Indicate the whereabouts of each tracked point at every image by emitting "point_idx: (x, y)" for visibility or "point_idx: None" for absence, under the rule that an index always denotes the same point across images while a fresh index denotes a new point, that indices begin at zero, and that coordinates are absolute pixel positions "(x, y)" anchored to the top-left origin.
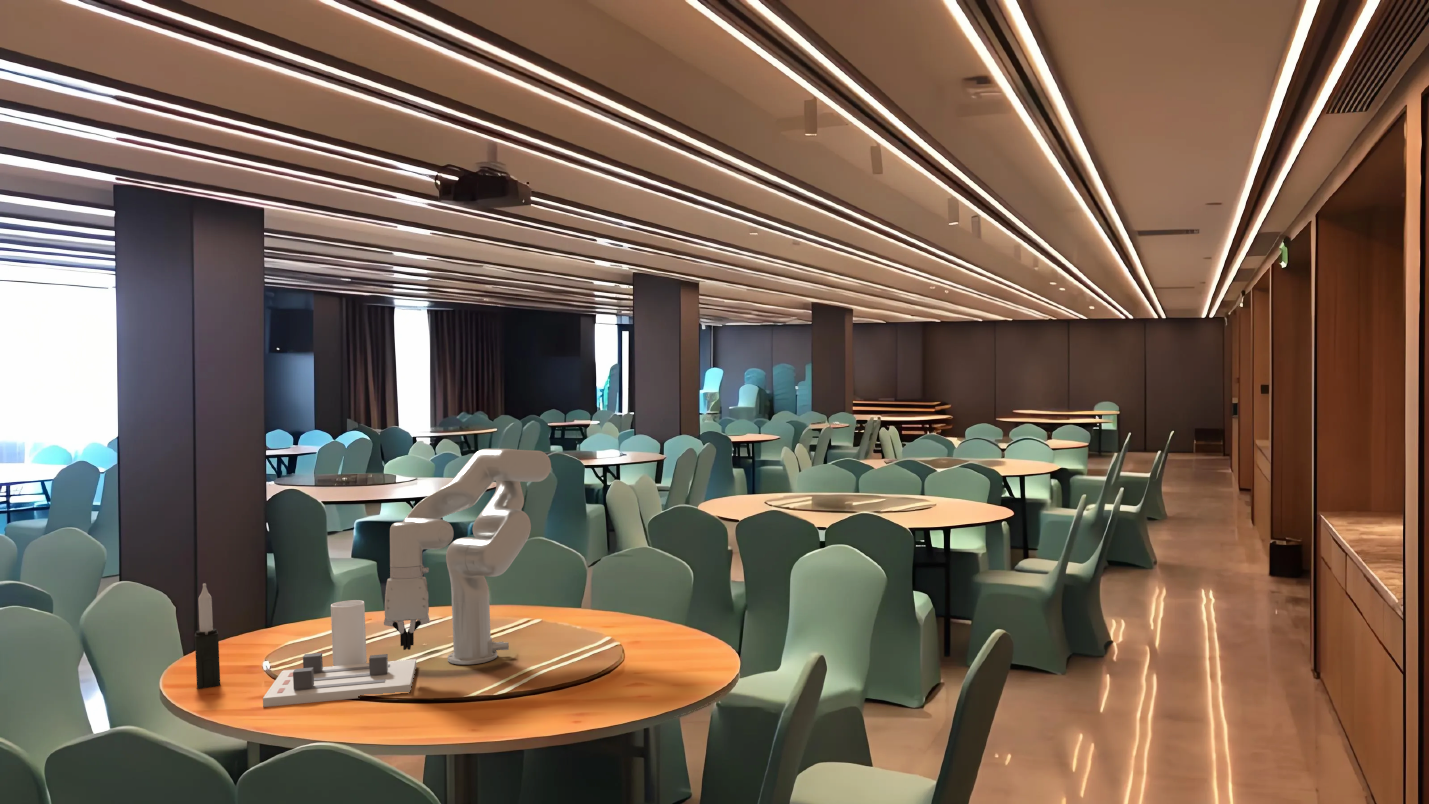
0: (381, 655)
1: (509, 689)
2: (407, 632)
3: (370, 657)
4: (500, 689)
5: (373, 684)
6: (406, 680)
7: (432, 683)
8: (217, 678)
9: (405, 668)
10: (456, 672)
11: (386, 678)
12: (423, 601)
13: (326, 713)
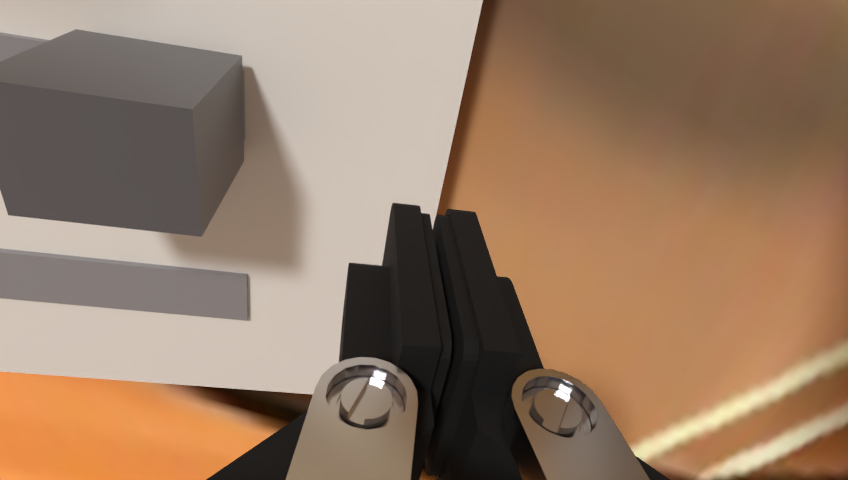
0: (128, 150)
1: (780, 451)
2: (449, 409)
3: (10, 182)
4: (754, 442)
5: (181, 329)
6: None
7: (537, 253)
8: None
9: (402, 1)
10: (770, 68)
11: (251, 240)
12: None
13: (37, 467)
